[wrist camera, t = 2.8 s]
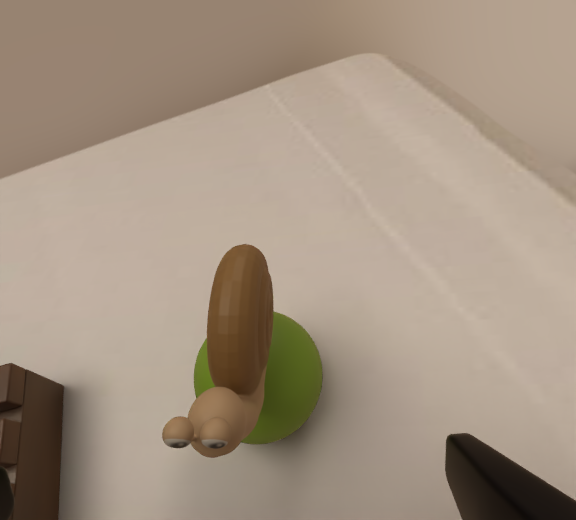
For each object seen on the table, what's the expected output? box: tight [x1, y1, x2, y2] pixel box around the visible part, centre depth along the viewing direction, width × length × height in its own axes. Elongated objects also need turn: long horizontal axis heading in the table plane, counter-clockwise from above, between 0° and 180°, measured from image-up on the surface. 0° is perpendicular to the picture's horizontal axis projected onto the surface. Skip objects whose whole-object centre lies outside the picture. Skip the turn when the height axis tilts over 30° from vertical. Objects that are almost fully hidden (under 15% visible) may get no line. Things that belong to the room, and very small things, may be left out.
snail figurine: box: [162, 244, 322, 458], centre depth 13 cm, size 5×6×12 cm
